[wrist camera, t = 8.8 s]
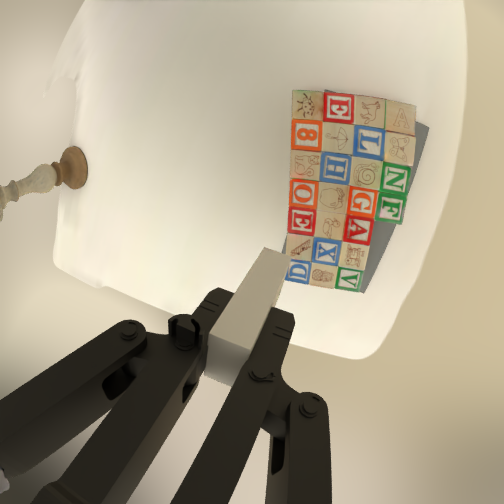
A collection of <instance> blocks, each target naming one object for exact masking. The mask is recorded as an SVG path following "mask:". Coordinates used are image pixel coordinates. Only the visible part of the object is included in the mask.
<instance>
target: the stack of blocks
mask: <svg viewBox="0 0 504 504" xmlns="http://www.w3.org/2000/svg"><path fill="white" fill-rule="evenodd" d="M415 119H416V106H414V105H410V104H405V103H401V102H396V101H390V100H387V99H382V98H376V97H369V96H362V95H352V94H343V93H332V92H319V91H304V90H293V91H292V127H291V162H290V192H289V211H288V228H287V231H288V233H287V244H286V255H288V256H291V257H292V258H291V261H290V264H289V267H288V270H287V273H286V276H285V280H287V281H292V282H297V283H302V284H309V285H313V286H318V287H324V288H330V289H334V288H335V289H340V290H347V291H353V292H359V291H360V287H361V283H362V279H363V274H364V270H365V266H366V262H367V257H368V253H369V248H370V241H371V236H372V231H373V226H374V221H382V222H388V223H394V224H400V225H402V222H403V217H404V212H405V206H406V201H407V195H408V190H409V184H410V178H411V170H412V168H411V167H412V166H413V162H414V153H415V144H416V137H414V135H415Z"/></svg>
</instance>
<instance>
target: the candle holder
mask: <svg viewBox="0 0 504 504" xmlns="http://www.w3.org/2000/svg"><path fill="white" fill-rule="evenodd" d="M86 178H87V163H86V159H85V157H84V154H83V153H82V151H81V150H80V149H79V148H77V147H69V148H67V149H66V150H65V151H64V152H63V155H62V158H61V159H60V163H57V162H53V163H52V164H51V165H48V164H42V165H40V166H38V167H37V168H36V169H35V170H34V171H33V172H32V173H31V174H30V175H29V176H27V177H26V178H24V179H22V180H19V181H17V182H15V181H14V180H12V181H11V182H10V183H9V185H8V186H6V187H2V186H1V185H0V221H2V218H3V209H4V208H5V207H6V205H7V203H8V202H9V201H15V202H17V201H18V199H19V197H20V196H23V195H25V194H28V193H32V192H37V193H47V192H49V191H50V190H52V188H53V187H54V186H60V185H61V184H62V182H64V183H65V184H66V185H68V186H69V187H70V188H72V189H78V188H80V187H82V186H83V185H84V183H85V181H86Z"/></svg>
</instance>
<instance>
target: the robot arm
mask: <svg viewBox="0 0 504 504" xmlns="http://www.w3.org/2000/svg"><path fill="white" fill-rule="evenodd" d="M291 258H292V257H291V256H288V255H286V254H283V253H280V252H277V251H274V250H271V249H268V248H265V247H264V249H263V250H262V252H261V253H260V255H259V256H258V258H257V259H256V261H255V263H254V264H253V266H252V267H251V269H250V270H249V272H248V273H247V275H246V277H245V278H244V280H243V281H242V283H241V284H240V286H239V287H238V289H237V291H236V292H235V293H232V292H230V291H227V290H224V289H222V288H219V287H218V288H216V289H214V290H212V291H210V292H209V293H208V294H207V296H206V297H205V298H204V300H203V301H202V302H201V303H200V305H199V307H197V309H196V310H195V311H194V313H193V314H192V315H189V314H178V315H175V316H173V317H171V318H170V319H169V320H168V329H169V334H167V335H164V334H156V333H150V332H146V330H145V327H144V326H143V325H142V324H141V323H139V322H138V321H135V320H123V321H121V322H119V323H117V324H116V325H114V326H112V327H111V328H109V329H108V330H106V331H105V332H103V333H102V334H100V335H98V336H97V337H95V338H94V339H93V340H91V341H89V342H88V343H86V344H84V345H83V346H81V347H80V348H78V349H77V350H75V351H74V352H72V353H71V354H69V355H68V356H66V357H65V358H63V359H61V360H60V361H58V362H57V363H55V364H54V365H53V366H51V367H49V368H48V369H46V370H45V371H43V372H42V373H40V374H39V375H38V376H36V377H34V378H33V379H31V380H30V381H28V382H27V383H25V384H24V385H22V386H21V387H19V388H18V389H16V390H15V391H13V392H12V393H10V394H9V395H8V396H6V397H4V398H3V399H1V400H0V493H2V492H3V491H5V490H8V489H9V482H8V480H7V479H6V478H10V477H15V476H18V475H20V474H23V473H24V472H26V471H28V470H30V469H31V468H33V467H34V466H36V465H37V464H38V463H39V462H41V461H43V460H44V459H45V458H47V457H48V456H50V455H51V454H52V453H54V452H55V451H56V450H58V449H59V448H61V447H62V446H63V445H65V444H66V443H67V442H69V441H70V440H71V439H72V438H74V437H75V436H76V435H78V434H79V433H81V432H82V431H83V430H85V429H86V428H87V427H88V426H90V425H91V424H92V423H94V422H95V421H96V420H97V419H99V418H100V417H102V416H103V415H104V414H105V413H107V412H108V411H109V410H111V411H110V412H109V413H108V415H107V416H106V417H105V419H104V420H103V421H102V422H101V424H100V425H99V426H98V428H97V429H96V430H95V432H94V433H93V434H92V436H91V437H90V438H89V440H88V441H87V443H86V444H85V445H84V447H83V448H82V449H81V451H80V452H79V453H78V455H77V456H76V457H75V459H74V460H73V461H72V463H71V464H70V466H69V467H68V468H67V469H66V471H65V472H64V474H63V475H62V476H61V477H60V479H58V480H57V481H55V482H52V483H49V484H47V485H46V486H44V487H43V488H42V489H41V490H40V491H39V493H38V494H37V496H36V497H35V498H34V500H33V501H32V503H31V504H126V503H127V501H128V500H129V498H130V496H131V495H132V493H133V492H134V490H135V489H136V487H137V485H138V484H139V482H140V481H141V479H142V477H143V476H144V474H145V473H146V471H147V469H148V468H149V466H150V464H151V463H152V461H153V460H154V458H155V456H156V455H157V453H158V451H159V450H160V448H161V446H162V445H163V443H164V442H165V440H166V438H167V437H168V435H169V433H170V432H171V430H172V428H173V427H174V425H175V423H176V421H177V420H178V418H179V417H180V415H181V413H182V412H183V410H184V408H185V407H186V405H187V403H188V402H189V400H190V398H191V397H192V395H193V393H194V391H195V390H196V388H197V386H198V383H199V378H200V376H201V374H202V373H203V371H204V375H205V376H207V377H209V378H211V379H214V380H216V381H218V382H221V383H223V384H226V385H228V386H231V387H232V388H231V390H230V392H229V394H228V396H227V398H226V400H225V402H224V404H223V406H222V408H221V410H220V412H219V414H218V416H217V418H216V420H215V422H214V424H213V426H212V428H211V430H210V431H209V433H208V435H207V437H206V439H205V441H204V443H203V445H202V447H201V449H200V451H199V453H198V454H197V456H196V458H195V460H194V462H193V464H192V465H191V467H190V469H189V471H188V473H187V474H186V476H185V478H184V480H183V482H182V483H181V485H180V487H179V489H178V491H177V492H176V494H175V496H174V498H173V499H172V501H171V503H170V504H228V502H229V500H230V498H231V496H232V494H233V492H234V489H235V487H236V485H237V483H238V481H239V478H240V476H241V473H242V471H243V469H244V467H245V464H246V462H247V460H248V457H249V455H250V453H251V450H252V448H253V445H254V443H255V440H256V438H257V435H258V433H259V430H260V428H262V429H264V430H265V431H267V432H268V433H269V434H270V448H269V461H268V475H267V486H266V499H265V504H332V478H331V451H330V431H329V416H328V407H327V404H326V402H325V401H324V400H323V398H322V397H320V396H319V395H317V394H315V393H311V392H302V393H298V392H297V391H295V390H294V389H292V388H291V387H290V386H289V385H287V384H286V383H285V381H284V380H283V378H282V375H281V366H282V363H283V360H284V357H285V354H286V351H287V348H288V345H289V342H290V339H291V336H292V332H293V329H294V326H295V320H294V315H293V314H292V313H289V312H286V311H283V310H280V309H278V308H275V305H276V302H277V300H278V298H279V295H280V292H281V289H282V286H283V283H284V280H285V276H286V273H287V270H288V267H289V264H290V261H291Z"/></svg>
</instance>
